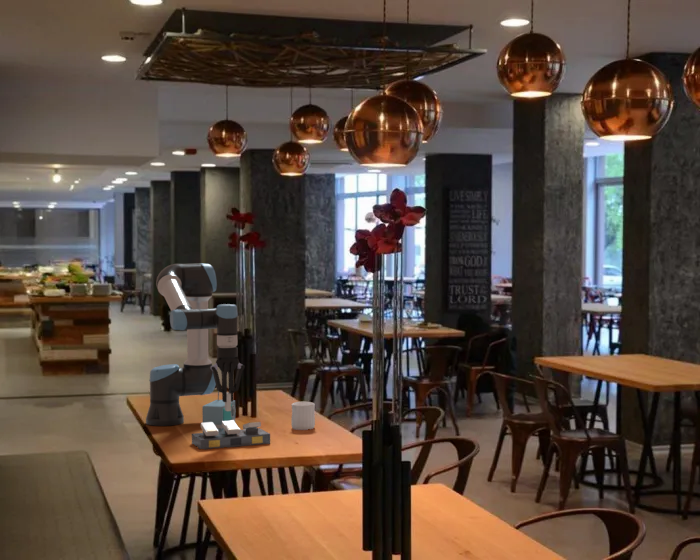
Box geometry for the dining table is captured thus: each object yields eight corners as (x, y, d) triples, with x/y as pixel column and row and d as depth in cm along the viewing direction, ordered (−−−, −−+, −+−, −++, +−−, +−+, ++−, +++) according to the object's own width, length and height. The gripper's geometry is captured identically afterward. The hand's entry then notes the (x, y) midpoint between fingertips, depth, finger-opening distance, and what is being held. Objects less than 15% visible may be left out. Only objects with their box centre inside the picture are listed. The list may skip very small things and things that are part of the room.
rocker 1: (200, 426, 366) (200, 422, 366) (212, 425, 368) (212, 421, 368) (206, 436, 359) (206, 431, 359) (218, 435, 361) (218, 430, 361)
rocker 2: (221, 425, 370) (222, 420, 369) (233, 424, 371) (233, 419, 371) (228, 434, 363) (228, 429, 362) (239, 433, 364) (240, 429, 364)
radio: (225, 438, 377) (224, 385, 377) (202, 437, 379) (201, 384, 378) (238, 430, 393) (237, 379, 392) (216, 429, 395) (215, 379, 394)
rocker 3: (243, 429, 373) (242, 424, 373) (254, 428, 374) (254, 423, 375) (249, 427, 365) (249, 422, 366) (261, 426, 367) (260, 421, 367)
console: (191, 443, 367) (191, 430, 367) (259, 437, 378) (259, 424, 378) (200, 449, 356) (200, 436, 356) (270, 443, 367) (270, 430, 366)
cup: (296, 431, 391) (296, 406, 391) (287, 426, 400) (287, 402, 400) (318, 429, 395) (318, 404, 395) (309, 425, 404) (309, 400, 404)
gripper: (212, 348, 363) (213, 413, 364) (247, 346, 368) (248, 410, 369) (207, 346, 370) (207, 410, 370) (241, 344, 375) (241, 407, 376)
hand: (227, 410), depth 370 cm, fingers closed
